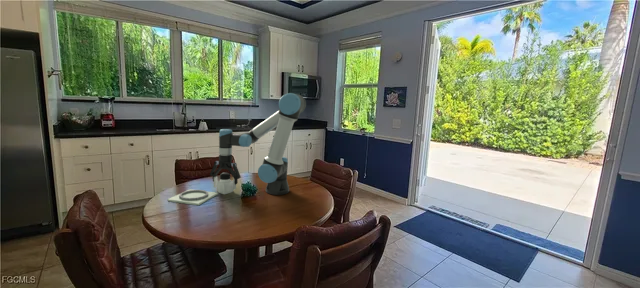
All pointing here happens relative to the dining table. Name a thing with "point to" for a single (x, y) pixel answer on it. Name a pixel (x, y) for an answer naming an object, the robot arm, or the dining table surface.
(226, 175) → the medicine bottle
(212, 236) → the dining table surface
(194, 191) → the socket board
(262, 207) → the dining table surface
